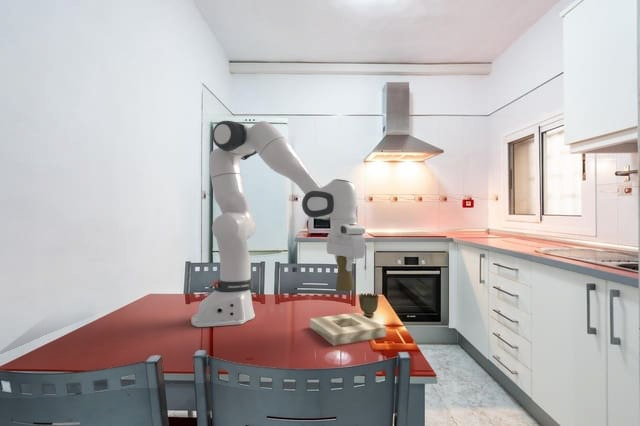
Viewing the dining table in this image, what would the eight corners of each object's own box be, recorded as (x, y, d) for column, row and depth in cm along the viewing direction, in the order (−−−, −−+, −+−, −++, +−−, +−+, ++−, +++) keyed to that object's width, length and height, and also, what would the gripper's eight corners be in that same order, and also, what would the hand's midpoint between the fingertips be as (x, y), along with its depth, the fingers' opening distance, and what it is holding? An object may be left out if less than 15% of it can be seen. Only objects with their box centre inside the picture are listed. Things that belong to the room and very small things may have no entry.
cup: (378, 319, 121) (378, 297, 121) (358, 318, 122) (357, 296, 123) (379, 314, 128) (378, 293, 128) (359, 313, 130) (359, 292, 130)
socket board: (333, 345, 96) (333, 335, 96) (310, 327, 112) (310, 318, 113) (385, 336, 103) (385, 327, 103) (356, 320, 120) (356, 312, 120)
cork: (342, 291, 107) (342, 257, 107) (332, 288, 112) (331, 255, 112) (357, 289, 110) (357, 255, 110) (347, 286, 115) (346, 254, 115)
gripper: (321, 227, 119) (322, 266, 119) (350, 228, 101) (351, 274, 100) (337, 227, 122) (338, 265, 122) (368, 228, 103) (369, 273, 103)
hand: (344, 269), depth 111 cm, fingers closed on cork, 4 cm apart
